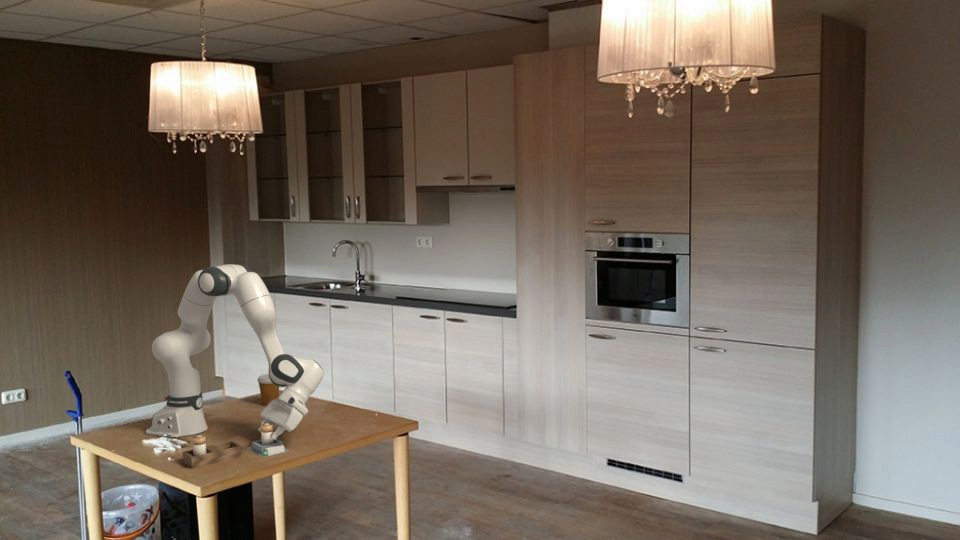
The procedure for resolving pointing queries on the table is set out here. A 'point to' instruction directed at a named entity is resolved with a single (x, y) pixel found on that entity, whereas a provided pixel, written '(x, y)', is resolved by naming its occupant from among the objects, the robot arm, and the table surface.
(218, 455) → the rack
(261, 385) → the disposable coffee cup
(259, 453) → the checker
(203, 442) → the cell
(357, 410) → the table surface
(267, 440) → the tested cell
